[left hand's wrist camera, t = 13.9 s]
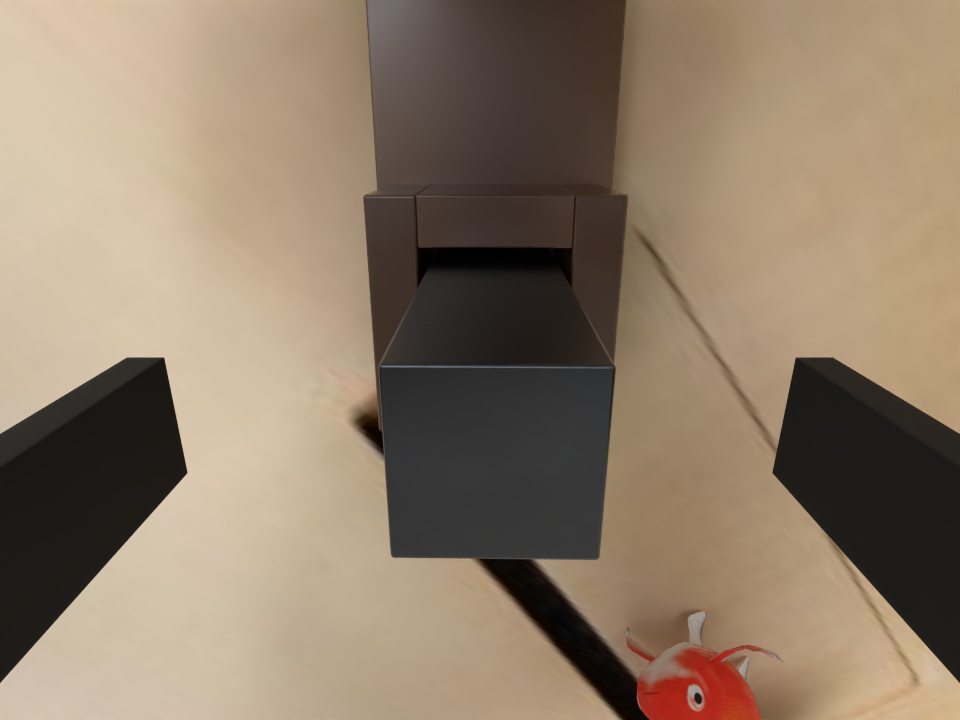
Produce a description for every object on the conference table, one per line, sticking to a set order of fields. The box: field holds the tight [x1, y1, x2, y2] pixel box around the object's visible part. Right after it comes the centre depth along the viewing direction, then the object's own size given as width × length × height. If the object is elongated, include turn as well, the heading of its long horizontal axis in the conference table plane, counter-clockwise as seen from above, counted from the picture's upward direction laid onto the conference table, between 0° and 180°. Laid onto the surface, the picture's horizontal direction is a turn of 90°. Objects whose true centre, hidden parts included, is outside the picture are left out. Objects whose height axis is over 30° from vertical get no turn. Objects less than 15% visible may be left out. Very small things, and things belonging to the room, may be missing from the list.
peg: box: [378, 248, 616, 560], centre depth 17 cm, size 4×4×14 cm
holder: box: [363, 0, 628, 431], centre depth 17 cm, size 9×26×12 cm, turn 0°
